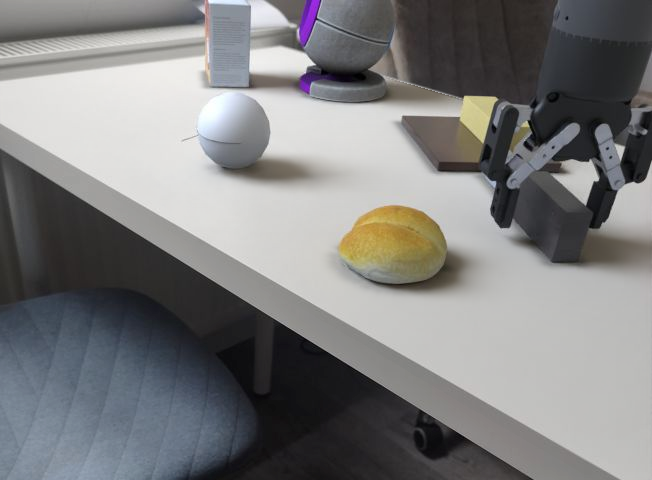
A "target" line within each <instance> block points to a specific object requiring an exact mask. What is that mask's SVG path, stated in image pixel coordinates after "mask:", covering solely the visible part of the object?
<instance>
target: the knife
mask: <svg viewBox="0 0 652 480" xmlns="http://www.w3.org/2000/svg"><path fill="white" fill-rule="evenodd" d="M511 154H512V152H511V151H510V150H509V152H508V156H507V158H508V157H509V156H510V155H511ZM483 178H484V179H485V180H486V181H487V182H488V183H489V185H490V186H492V187H493V189H494V190H495V187H496V181H491V180H489V179H488V177H487V176H486V175H485V174H484V173H483ZM518 188H519V189H520V192H519V196H518V200H517V204H516V208H515V212H514V215H513V219H512V220H514V221H515V223H517V225H518V226H519V227H520V228H521V229H522V230H523V231H524V233H525V234H526V235H527V236H528V237H529V238H530V239H531V240H532V242H533V243H534V244H535V245H536V246H537V247H538V249H540V251H541V252H542V253H543V255H545V257H546V258H547V259H548V260H549V261H550V262H552V263H565V262H566V263H568V262H569V263H570V262H571V263H575V262H578V261H579V259H580V258H579V257H580V256H581V253H582V250H583V246H584V243H585V241H586V237H587V234H588V231H589V229H590V228H589V225H590V222H591V219H592V216H593V212H592V211H591V210H590V209H589V208H588V207H587V206H586V204H585V203H584V202H582V201H581V200H580V199H579V198H578V197H577V196H575V194H574V193H572V192H571V191H570V190H569V189H568V188H567V187H566V186H565V185H563V183H561V182H560V181H559V180H558V179H557V178H556V177H555V176H554V175H552V174H551V172H547V171H533V172H532V173H531V174H530V175H529V176H528V177H527V178H526V179H525V180H524V181H523V182H522V183H521V184H520V185H519V186H518Z"/></svg>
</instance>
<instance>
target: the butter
mask: <svg viewBox="0 0 652 480" xmlns="http://www.w3.org/2000/svg"><path fill="white" fill-rule="evenodd" d="M497 100H499V99H498V98H497V97H496V96H482V95H464V96H463V100H462V106H461V110H460V116H459V117H460V121H461V122H462V123H463V124H464V125H465V126H466V127H467V128H468V129H469V130H470V131H471V132H472V133H473V134H474V135H475V136H476V137H477V138H478V139H479V140H480V141H481V142H482V143H484V140H485V136H486V132H487V128H488V125H489V121H490V117H491V113H492V110H493V106H494V103H495V102H496V101H497Z"/></svg>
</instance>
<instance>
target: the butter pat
mask: <svg viewBox="0 0 652 480" xmlns="http://www.w3.org/2000/svg"><path fill="white" fill-rule="evenodd" d="M530 130H531V129H530V127H529V124H528V122H527V121H526V122H524V123H523V124H522V126H521V128H520V131H518V132H516V133H514V135H513V138H512V142H511V145H510V149H509V150H510V151H511V152H512V153H513V151H514V147H515V146H516V145H517V144H518V143H519V141H520V140H521V139H522V138H523V137H524V136H525V135H526V134H527V133H528V132H529V131H530Z"/></svg>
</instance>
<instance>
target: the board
mask: <svg viewBox="0 0 652 480" xmlns="http://www.w3.org/2000/svg"><path fill="white" fill-rule="evenodd" d="M400 121H401V122H400V124H401V125H402V126H403V128H405V130H406V132H407V134H409V135H410V137H411V138H412V139H413V140H414V142H415V143H416V145H417V146H418V147H419V148H420V150H421V151H422V152H423V153H424V155H425V156H426V157H427V159H428V160H429V162H430V163H431V164H432V165H433V166H434V168H435V169H436V170H437V171H439V172H440V171H441V172H442V171H446V172H449V171H450V172H482V171H481V170H480V169H479V167H478V162H479V158H480V155H481V151H482V147H483V143H482V142H481V141H480V140H479V139H478V138H477V137H476V136H475V135H474V134H473V133H472V132H471V131H470V130H469V129H468V128H467V127H466V126H465V125H464V124H463V123H462V122H461V121H460V116H445V115H443V116H440V115H439V116H438V115H437V116H436V115H402V116H401V119H400ZM537 149H538V146H536V147H535V148H534V149H533V151H532V152H535V151H536V150H537ZM562 165H563V162H560V161H553V160H552V159H550V160H549V161H548V162H547V163H546V164H545V165H544V166H543V167H542V168H541V169H539V170H537V171H547V172H549V173H560V172H561V170H562V169H561V168H562Z"/></svg>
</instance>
